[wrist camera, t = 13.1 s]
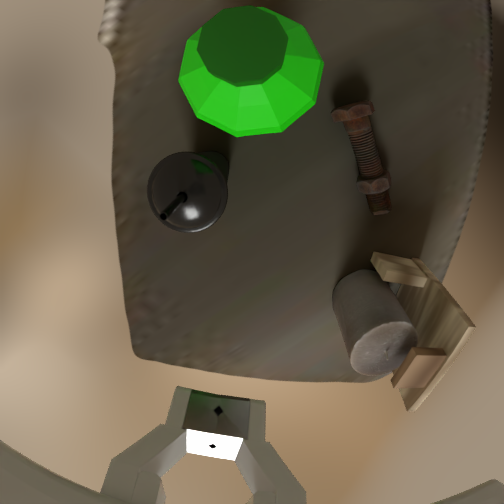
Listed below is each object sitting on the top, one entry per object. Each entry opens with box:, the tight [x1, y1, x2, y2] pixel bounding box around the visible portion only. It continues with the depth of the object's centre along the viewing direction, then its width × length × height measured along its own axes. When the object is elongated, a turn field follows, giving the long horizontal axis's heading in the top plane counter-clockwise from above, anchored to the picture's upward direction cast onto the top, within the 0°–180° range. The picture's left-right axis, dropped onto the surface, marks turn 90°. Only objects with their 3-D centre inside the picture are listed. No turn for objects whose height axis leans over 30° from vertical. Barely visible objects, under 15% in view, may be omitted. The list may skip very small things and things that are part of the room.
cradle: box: [370, 252, 476, 412], centre depth 38 cm, size 9×16×18 cm, turn 170°
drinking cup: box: [147, 151, 229, 233], centre depth 29 cm, size 8×8×20 cm
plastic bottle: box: [178, 5, 324, 137], centre depth 22 cm, size 10×10×25 cm
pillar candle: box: [332, 269, 418, 376], centre depth 39 cm, size 10×10×15 cm
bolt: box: [331, 101, 392, 215], centre depth 35 cm, size 6×5×15 cm
